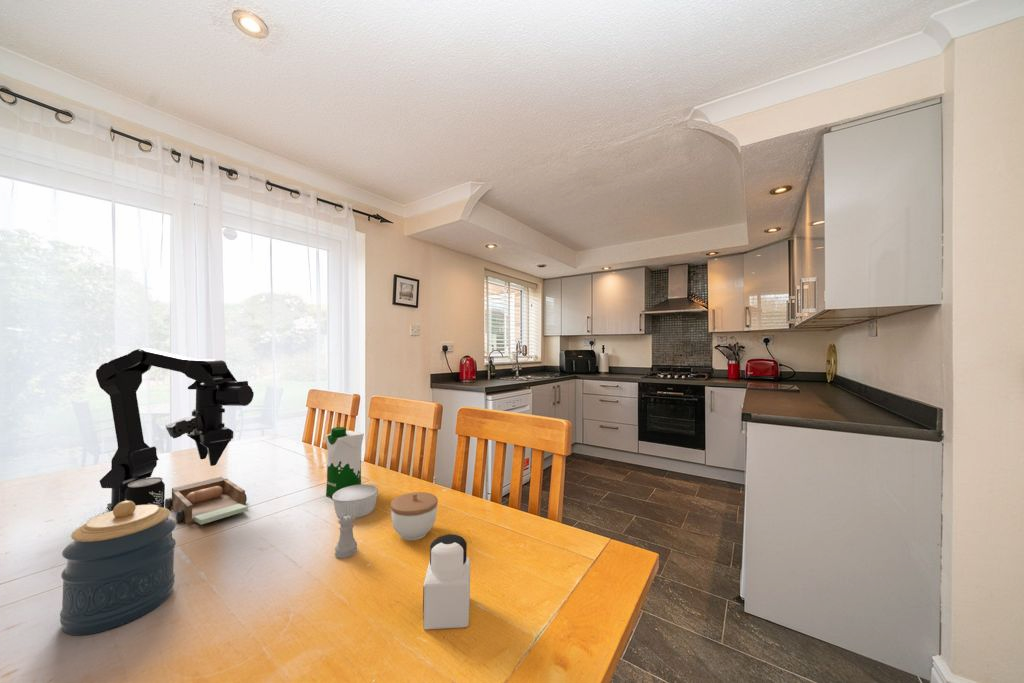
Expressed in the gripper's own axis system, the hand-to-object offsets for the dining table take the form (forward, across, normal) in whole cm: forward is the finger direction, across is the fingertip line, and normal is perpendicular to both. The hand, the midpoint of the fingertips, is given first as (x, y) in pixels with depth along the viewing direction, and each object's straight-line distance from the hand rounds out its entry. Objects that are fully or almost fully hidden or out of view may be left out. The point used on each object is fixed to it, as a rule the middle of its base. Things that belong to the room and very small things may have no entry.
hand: (207, 462), depth 98 cm
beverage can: (+12, +6, -13) cm, 19 cm away
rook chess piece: (+12, +52, +11) cm, 55 cm away
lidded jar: (+12, +57, +25) cm, 63 cm away
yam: (+11, -2, 0) cm, 11 cm away
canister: (+12, +37, -20) cm, 44 cm away
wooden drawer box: (+12, 0, 0) cm, 12 cm away
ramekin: (+12, +35, +23) cm, 44 cm away
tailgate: (+11, +9, 0) cm, 14 cm away
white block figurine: (+12, +82, +12) cm, 84 cm away
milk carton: (+12, +22, +27) cm, 37 cm away
